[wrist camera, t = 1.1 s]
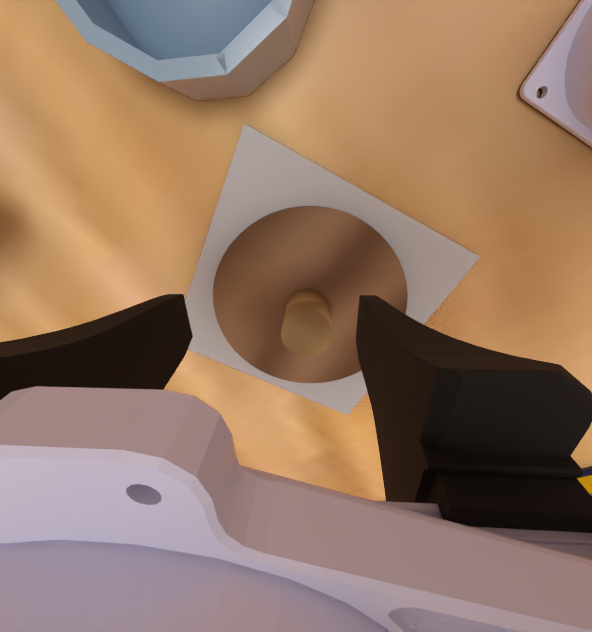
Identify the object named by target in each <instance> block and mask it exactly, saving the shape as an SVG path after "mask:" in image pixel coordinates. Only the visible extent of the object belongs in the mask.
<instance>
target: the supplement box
mask: <svg viewBox="0 0 592 632" xmlns="http://www.w3.org/2000/svg"><path fill="white" fill-rule="evenodd" d="M582 473H583V474H582V476H581V477H580V478H577V479H578V480H579V482H580V483H581V484H582V485H583V486H584V488H585V489H586V490H587V491H588V493H589V494H590V493H592V467H588V468H583V469H582Z"/></svg>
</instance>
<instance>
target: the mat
mask: <svg viewBox="0 0 592 632" xmlns="http://www.w3.org/2000/svg"><path fill="white" fill-rule="evenodd" d="M298 206H322V207H328V208H334V209H337V210H340V211H344V212H347V213H349V214H351V215H353V216H355V217H358V218H359V219H361V220H363V221H364V222H366V223H367V224H369V225H370V226H371V227H373V228H374V229H375V230H376V231H377V232H378V233H379V234H381V236H382V237H383V238H384V239H385V240H386V241H387V243H388V244H389V245H390V246H391V247H392V249H393V250H394V252H395V254H396V255H397V257H398V259H399V261H400V263H401V266H402V268H403V270H404V274H405V278H406V282H407V292H408V298H407V309H406V315H407V316H409V317H411V318H412V319H414V320H416V321H418V322H420V323H421V324H423V325H424V323H425V322H426V321H427V320H428V319H429V318H430V316H431V315H432V314H433V313H434V312H435V310H436V309H437V308H438V307H439V306H440V304H441V303H442V302H443V301H444V300H445V298H446V297H447V296H448V295H449V294H450V293H451V291H452V290H453V289H454V288H455V287H456V285H457V284H458V283H459V282H460V281H461V279H462V278H463V277H464V276H465V275H466V273H467V272H468V271H469V270H470V269H471V268H472V266H473V265H474V264H475V263H476V262H477V260H478V259H479V258H480V256H478V255H477V254H475V253H473V252H471V251H469V250H468V249H466V248H464V247H462V246H461V245H459V244H457V243H455V242H453V241H452V240H450V239H448V238H446V237H445V236H443V235H441V234H439V233H438V232H436V231H434V230H432V229H430V228H429V227H427V226H425V225H423V224H422V223H420V222H418V221H416V220H414V219H413V218H411V217H409V216H407V215H406V214H404V213H402V212H400V211H399V210H397V209H395V208H393V207H391V206H390V205H388V204H386V203H384V202H383V201H381V200H379V199H377V198H376V197H374V196H372V195H370V194H368V193H367V192H365V191H363V190H361V189H360V188H358V187H356V186H354V185H352V184H351V183H349V182H347V181H345V180H344V179H342V178H340V177H338V176H337V175H335V174H333V173H331V172H329V171H328V170H326V169H324V168H322V167H321V166H319V165H317V164H315V163H313V162H312V161H310V160H308V159H306V158H305V157H303V156H301V155H299V154H298V153H296V152H294V151H292V150H290V149H289V148H287V147H285V146H283V145H282V144H280V143H278V142H276V141H275V140H273V139H271V138H269V137H267V136H266V135H264V134H262V133H260V132H259V131H257V130H255V129H253V128H251V127H250V126H248V125H246V124H244V126H243V129H242V132H241V135H240V138H239V141H238V144H237V147H236V150H235V153H234V156H233V159H232V162H231V165H230V168H229V171H228V174H227V177H226V180H225V183H224V186H223V189H222V192H221V195H220V198H219V201H218V204H217V207H216V210H215V213H214V216H213V219H212V222H211V225H210V228H209V231H208V234H207V237H206V240H205V243H204V246H203V249H202V252H201V255H200V258H199V262H198V265H197V268H196V271H195V274H194V277H193V280H192V283H191V286H190V289H189V292H188V295H187V298H186V301H185V304H186V309H187V313H188V317H189V322H190V326H191V331H192V335H193V337H192V340H191V342H190V345H189V347H188V350H191V351H193V352H196V353H198V354H201V355H203V356H205V357H208V358H210V359H213V360H215V361H218V362H220V363H222V364H225V365H227V366H230V367H232V368H234V369H237V370H239V371H242V372H244V373H247V374H249V375H251V376H254V377H256V378H259V379H261V380H264V381H266V382H268V383H271V384H273V385H276V386H278V387H280V388H283V389H285V390H288V391H290V392H293V393H295V394H297V395H300V396H302V397H305V398H307V399H309V400H312V401H314V402H317V403H319V404H322V405H324V406H326V407H329V408H331V409H334V410H336V411H339V412H341V413H343V414H346V415H348V414H349V413H350V412H351V410H352V409H353V408H354V407H355V406H356V405H357V403H358V402H359V401H360V400H361V399H362V397H363V396H364V395H365V394H366V393H367V388H366V384H365V381H364V377H363V374H362V370H361V371H359V372H358V373H356V374H353V375H351V376H348V377H346V378H343V379H339V380H335V381H330V382H324V383H298V382H291V381H287V380H283V379H279V378H276V377H273V376H271V375H268V374H266V373H264V372H262V371H260V370H258V369H257V368H255V367H254V366H252V365H250V364H249V363H248V362H247V361H245V360H244V359H243V358H242V357H241V356H240V355H239V354H238V353H237V352H236V351H235V350H234V349H233V348H232V347H231V345H230V344H229V343H228V341H227V340H226V338H225V336H224V335H223V333H222V331H221V329H220V327H219V324H218V322H217V318H216V315H215V311H214V305H213V285H214V278H215V275H216V271H217V268H218V265H219V263H220V261H221V259H222V256H223V255H224V253H225V252H226V250H227V249H228V247H229V245H230V244H231V243H232V242H233V241H234V240H235V239H236V237H237V236H238V235H239V234H240V233H241V232H243V231H244V230H245V229H246V228H247V227H249V226H250V225H251V224H252V223H254V222H256V221H257V220H259V219H260V218H262V217H264V216H266V215H269V214H271V213H273V212H276V211H279V210H283V209H286V208H291V207H298Z"/></svg>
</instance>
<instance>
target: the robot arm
mask: <svg viewBox="0 0 592 632" xmlns="http://www.w3.org/2000/svg"><path fill="white" fill-rule="evenodd" d="M539 88H541V89H542V95H541V97H540V98H537V96H536V93H537V91H538V89H539ZM520 97H521V98H522V99H523V100H524V101H526V102H527V103H529V104H530V105H532V106H533V107H534V108H536V109H537V110H539V111H540V112H542V113H543V114H544V115H546V116H547V117H549V118H550V119H552V120H553V121H554V122H556V123H557V124H559V125H560V126H562V127H563V128H565V129H566V130H567V131H569V132H570V133H572V134H573V135H575V136H576V137H577V138H579V139H580V140H582V141H583V142H585V143H586V144H588V145H589V146H590V147H592V0H581V1H580V2H579V3H578V5H577V6H576V8H575V9H574V11H573V12H572V13H571V15H570V16H569V18H568V19H567V21H566V22H565V23H564V25H563V26H562V28H561V29H560V31H559V32H558V34H557V35H556V36H555V38H554V39H553V41H552V42H551V44H550V45H549V46H548V48H547V49H546V51H545V52H544V54H543V55H542V56H541V58H540V59H539V61H538V62H537V64H536V65H535V67H534V68H533V69H532V71H531V72H530V74H529V75H528V77H527V78H526V79H525V81H524V82H523V84H522V86H521V88H520ZM192 337H193V335H192V331H191V326H190V322H189V317H188V313H187V309H186V304H185V300H184V295H183V294H168V295H163V296H160V297H156V298H153V299H151V300H148V301H145V302H143V303H140V304H137V305H135V306H132V307H130V308H127V309H124V310H122V311H119V312H116V313H113V314H111V315H108V316H105V317H102V318H100V319H97V320H94V321H91V322H87V323H84V324H81V325H77V326H74V327H70V328H67V329H63V330H59V331H55V332H50V333H46V334H41V335H37V336H32V337H28V338H23V339H17V340H12V341H6V342H0V632H592V493H590V494H589V493H588V491H587V490H586V489H585V488H584V486H583V485H582V484H581V483H580V482H579V480H578V479H577V478H580V477H581V476H582V474H583V473H582V469H581V468H580V467H579V465H578V464H577V463H576V462H575V461H574V460H573V459H572V457H571V454H572V453H573V451H574V450H575V448H576V447H577V445H578V443H579V442H580V440H581V439H582V437H583V436H584V434H585V433H586V431H587V430H588V428H589V427H590V424H591V422H592V393H591V391H590V390H589V389H588V388H586V387H585V386H584V385H583V384H582V383H581V382H579V381H578V380H577V379H576V378H575V377H574V376H573V375H571V374H570V373H569V372H568V371H567V370H566V369H564V368H563V367H562V366H561V365H558V364H553V363H548V362H542V361H537V360H532V359H527V358H522V357H516V356H512V355H508V354H504V353H500V352H496V351H492V350H489V349H485V348H482V347H478V346H475V345H472V344H469V343H466V342H463V341H460V340H457V339H455V338H452V337H450V336H447V335H445V334H442V333H440V332H438V331H436V330H433V329H431V328H429V327H427V326H425V325H423V324H421V323H420V322H418V321H416V320H414V319H412V318H411V317H409V316H407V315H406V314H404V313H402V312H401V311H399V310H398V309H396V308H395V307H393V306H392V305H390V304H389V303H387V302H386V301H384V300H383V299H381V298H380V297H378V296H376V295H360V296H359V307H358V318H357V329H356V346H357V353H358V360H359V363H360V367H361V370H362V374H363V377H364V381H365V384H366V388H367V391H368V395H369V398H370V402H371V406H372V410H373V415H374V421H375V427H376V433H377V439H378V446H379V452H380V459H381V466H382V473H383V480H384V488H385V495H386V501H372V500H368V499H365V498H361V497H357V496H353V495H350V494H346V493H342V492H338V491H335V490H331V489H327V488H323V487H320V486H316V485H312V484H308V483H305V482H301V481H297V480H293V479H290V478H286V477H282V476H278V475H275V474H271V473H267V472H263V471H260V470H256V469H252V468H248V467H245V466H241V465H240V464H239V462H238V460H237V457H236V454H235V448H234V443H233V438H232V434H231V432H230V430H229V428H228V427H227V425H226V423H225V421H224V419H223V418H222V416H221V414H220V413H219V412H218V411H217V410H215V409H214V408H212V407H211V406H209V405H208V404H206V403H205V402H203V401H202V400H200V399H199V398H197V397H196V396H192V395H187V394H183V393H178V392H174V391H169V390H163V389H164V388H165V386H166V384H167V383H168V381H169V380H170V378H171V377H172V375H173V374H174V372H175V370H176V369H177V367H178V366H179V364H180V363H181V361H182V359H183V358H184V356H185V354H186V352H187V350H188V347H189V345H190V342H191V340H192Z"/></svg>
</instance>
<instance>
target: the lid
mask: <svg viewBox="0 0 592 632" xmlns="http://www.w3.org/2000/svg"><path fill="white" fill-rule="evenodd" d="M360 295H376V296H378V297H380V298H381V299H383V300H384V301H386V302H387V303H389V304H390V305H392V306H393V307H395V308H396V309H398V310H399V311H401V312H402V313H404V314H406V309H407V298H408V292H407V282H406V278H405V274H404V270H403V268H402V266H401V263H400V261H399V259H398V257H397V255H396V254H395V252H394V250H393V249H392V247H391V246H390V245H389V244H388V243H387V241H386V240H385V239H384V238H383V237H382V236H381V234H379V233H378V232H377V231H376V230H375V229H374V228H373V227H371V226H370V225H369V224H367V223H366V222H364V221H363V220H361V219H359V218H358V217H355V216H353V215H351V214H349V213H347V212H344V211H340V210H337V209H334V208H328V207H322V206H298V207H291V208H286V209H283V210H279V211H276V212H273V213H271V214H269V215H266V216H264V217H262V218H260V219H259V220H257V221H256V222H254V223H252V224H251V225H250V226H249V227H247V228H246V229H245V230H244V231H243V232H241V233H240V234H239V235H238V236H237V237H236V239H235V240H234V241H233V242H232V243H231V244H230V245H229V247H228V249H227V250H226V252H225V253H224V255H223V256H222V259H221V261H220V263H219V265H218V268H217V271H216V275H215V278H214V285H213V305H214V311H215V315H216V318H217V322H218V324H219V327H220V329H221V331H222V333H223V335H224V336H225V338H226V340H227V341H228V343H229V344H230V345H231V347H232V348H233V349H234V350H235V351H236V352H237V353H238V354H239V355H240V356H241V357H242V358H243V359H244V360H245V361H247V362H248V363H249V364H250V365H252V366H254V367H255V368H257V369H258V370H260V371H262V372H264V373H266V374H268V375H271V376H273V377H276V378H279V379H283V380H287V381H291V382H298V383H324V382H330V381H335V380H339V379H343V378H346V377H348V376H351V375H353V374H356V373H358V372H359V371H361V367H360V363H359V360H358V353H357V346H356V329H357V318H358V307H359V296H360Z"/></svg>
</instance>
